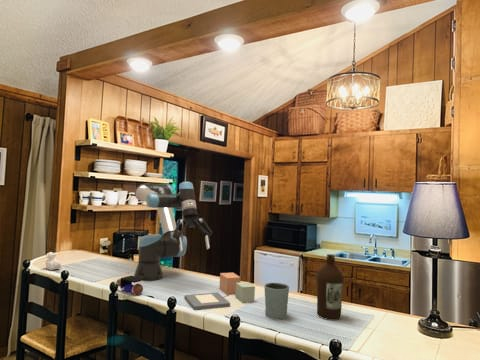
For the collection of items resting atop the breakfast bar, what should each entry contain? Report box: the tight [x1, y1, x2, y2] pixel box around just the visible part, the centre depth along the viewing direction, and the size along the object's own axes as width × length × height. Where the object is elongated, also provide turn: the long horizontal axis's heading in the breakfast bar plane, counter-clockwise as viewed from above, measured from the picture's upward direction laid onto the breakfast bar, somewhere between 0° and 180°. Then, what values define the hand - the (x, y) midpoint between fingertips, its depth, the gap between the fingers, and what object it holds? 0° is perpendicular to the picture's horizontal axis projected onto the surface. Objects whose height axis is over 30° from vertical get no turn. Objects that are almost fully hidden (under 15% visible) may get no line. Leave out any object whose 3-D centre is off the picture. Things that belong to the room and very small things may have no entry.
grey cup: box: [264, 282, 290, 320], centre depth 139 cm, size 10×10×12 cm
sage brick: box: [234, 281, 256, 304], centre depth 158 cm, size 8×6×7 cm
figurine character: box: [116, 275, 146, 296], centre depth 162 cm, size 7×8×15 cm
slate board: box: [184, 292, 231, 311], centre depth 152 cm, size 16×16×2 cm
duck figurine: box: [45, 251, 62, 271], centre depth 198 cm, size 12×8×11 cm
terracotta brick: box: [218, 272, 241, 296], centre depth 170 cm, size 10×7×8 cm
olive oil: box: [316, 253, 344, 320], centre depth 142 cm, size 11×11×25 cm
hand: (195, 249), depth 169 cm, fingers open, 13 cm apart
